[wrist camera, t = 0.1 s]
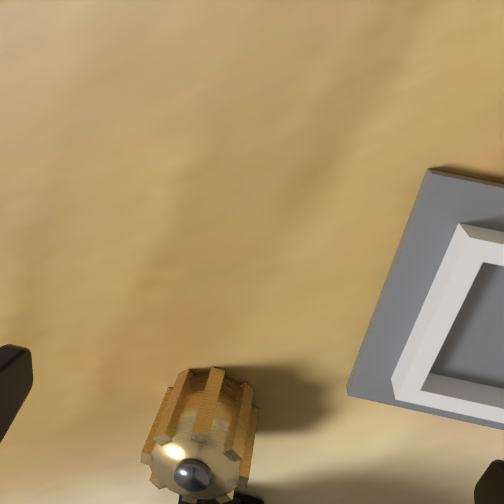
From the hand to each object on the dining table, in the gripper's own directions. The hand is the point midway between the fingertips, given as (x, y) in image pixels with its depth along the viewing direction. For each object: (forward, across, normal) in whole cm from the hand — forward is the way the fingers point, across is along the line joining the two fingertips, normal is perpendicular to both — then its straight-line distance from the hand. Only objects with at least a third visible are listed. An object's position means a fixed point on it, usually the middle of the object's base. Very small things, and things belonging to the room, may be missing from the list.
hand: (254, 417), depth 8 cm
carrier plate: (+15, -13, +5) cm, 20 cm away
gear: (+15, +2, +16) cm, 22 cm away
